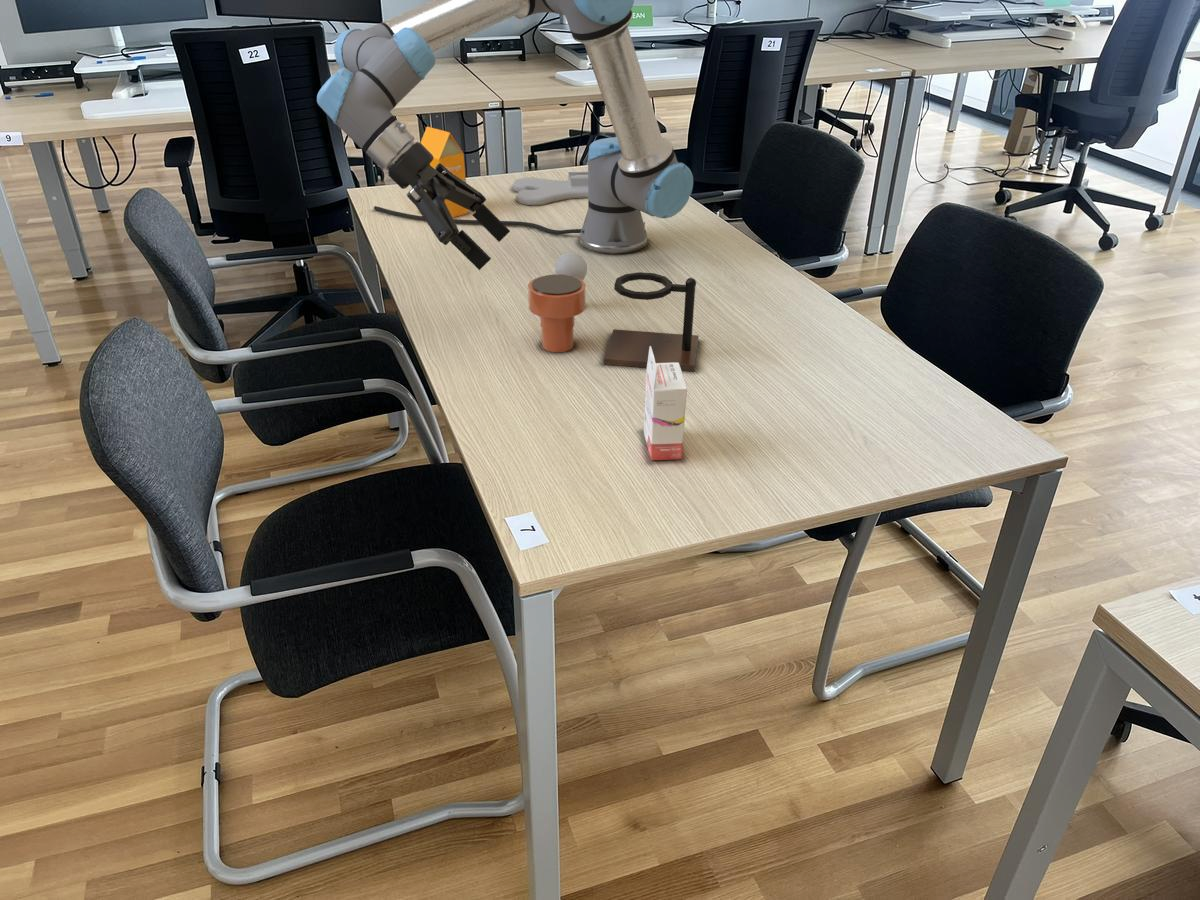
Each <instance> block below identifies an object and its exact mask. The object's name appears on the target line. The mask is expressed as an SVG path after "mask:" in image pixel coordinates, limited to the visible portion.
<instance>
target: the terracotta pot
mask: <svg viewBox="0 0 1200 900" xmlns="http://www.w3.org/2000/svg"><path fill="white" fill-rule="evenodd" d="M586 286H587V285H586V283H585V281H584V280H583V281H582V280H581V279H579V278H576V277H573V276H568V275H559V274H556V273H555V274H545V275H542V276H539V277H536V278H533V279H532V280H530V281H529V282H528V284H527V301H528V303H527V304H528V310H529V311H530V312H531V313H532V314H533V315H535V316H537V317H539V321H540V323H539V324H540V327H541V346H542V349H544V350H545V351H548V352H550V353H564V352H568V351H571V349H573V348H574V327H575V317H576V316H578V315H580V314H582V313H583V312H584V311H585V310H586V306H587V303H586V302H587V287H586Z"/></svg>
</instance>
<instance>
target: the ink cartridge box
mask: <svg viewBox="0 0 1200 900" xmlns="http://www.w3.org/2000/svg"><path fill="white" fill-rule="evenodd" d="M651 362H652V363H651ZM644 394H645V395H644V415H643V435H644V439H645V444H646V447H647V450H648V454H649V458H650V461H669V460H682V459H683V448H684V436H685V435H684V433H685V421H686V420H685V419H686V408H687V407H686V406H687V395H688V387H687V383H686V380H685V378H684V374H683V372H682V371H681V368H680V365H679V363H656V362H655V359H654V355H653V351H652V348H651V346H650V348H649V355H648V362H647V368H646V374H645V393H644Z"/></svg>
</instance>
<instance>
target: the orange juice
mask: <svg viewBox="0 0 1200 900" xmlns="http://www.w3.org/2000/svg"><path fill="white" fill-rule="evenodd" d="M419 142H420V143H421V144H422V145H423V146H424V147H425V148H426V149H427V150H428V151H429V152H430V153H431V154H432V155H433V160H432V162H431V163H430V166H431V167H433V168H435V167H436V166H437V165H438V164H439V163H441V164H442V165H443V166H444V167H445V168H446V169H448V170H449V171H450V172H451V173H453V174H454V175H455V176H457V177H458V178H460V179H461V180H463V181H464V182H465V183H467V179H466V167H465V166H466V165H465V164H466V163H465V153H464V151H463V149H461V147H460V145H459V144H458V142H457V141H456V139H455V138H454V137H453V135H452V134H451V132H450V131H447V130H442V129H440V128H435V127H431V126H428V125H427V126H426V127H425V130H424V133H423V135H422V137H421V140H420V141H419ZM445 204H446V206H447V208H448V210H449V212H450V214H451V216H452V218H453V219H454V218H456V217H459V216H463V215H466V214H468V213H469V210H468V209H466V208H464V207H462V206H460V205H458V204H456V203H454V202H452V201H450V200H448V199H445Z"/></svg>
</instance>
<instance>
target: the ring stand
mask: <svg viewBox="0 0 1200 900" xmlns="http://www.w3.org/2000/svg"><path fill="white" fill-rule="evenodd" d="M638 280H639V281H641V280H642V281H652V282H656V283H658V284H661V285H662V286H664V287H662V288H660V289H658V290H653V291H652V290H651V291H637V290H632V289H628V288H626V287H624V286H623V285H624V284H626V283H628V282H633V281H638ZM696 286H697V280H696V279H695V278H693V277H689V278H686V280H685V284H681V283H680V284H679V283H673V281H671V280H670V279H669V277H667V276H665V275H661V274H658V273H655V272H643V271H642V272H641V271H638V272H631V273H625V274H623V275H621V276H618V277H617V278H616V279H615V281H614V287H613V288H614V291H615V292H617V294H619V296H623V297H625V298H629V299H632V300H643V301H650V300H657V299H663V298H664V297H667V296H668V295H670V294H672V292H673V293H685V294H684V309H683V310H684V311H683V324H682V334H683V338H682V350H684V351H690V350H691V341H692V335H693V326H694V325H693V324H694V311H695V298H696V297H695V296H696Z"/></svg>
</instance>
